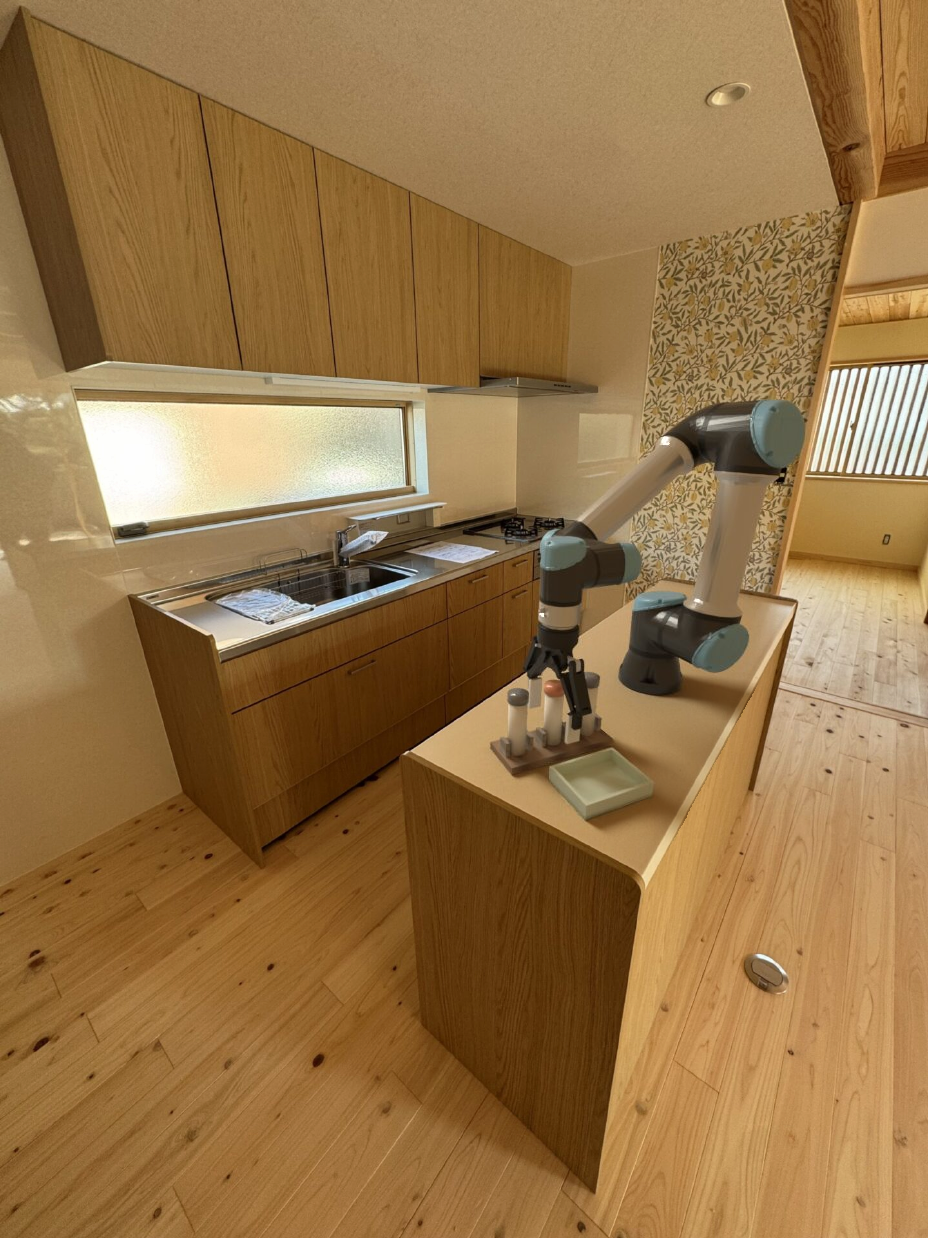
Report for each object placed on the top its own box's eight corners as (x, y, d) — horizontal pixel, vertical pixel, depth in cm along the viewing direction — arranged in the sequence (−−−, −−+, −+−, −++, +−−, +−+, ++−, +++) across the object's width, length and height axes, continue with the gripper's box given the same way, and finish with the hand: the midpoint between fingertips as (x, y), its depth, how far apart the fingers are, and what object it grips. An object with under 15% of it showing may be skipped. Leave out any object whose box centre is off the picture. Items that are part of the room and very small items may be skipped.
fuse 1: (520, 742, 99) (522, 686, 95) (530, 753, 96) (533, 695, 91) (502, 747, 98) (503, 690, 93) (512, 758, 94) (513, 700, 90)
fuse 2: (587, 723, 105) (591, 670, 100) (598, 733, 102) (604, 678, 97) (571, 728, 104) (575, 674, 99) (582, 738, 100) (587, 682, 96)
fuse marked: (554, 732, 102) (558, 678, 98) (565, 743, 99) (569, 687, 94) (537, 737, 101) (540, 682, 96) (548, 748, 97) (551, 691, 93)
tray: (610, 760, 96) (612, 747, 95) (652, 796, 86) (654, 782, 85) (548, 780, 91) (549, 766, 90) (585, 820, 81) (586, 805, 80)
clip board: (585, 722, 108) (586, 704, 107) (612, 744, 100) (614, 725, 99) (490, 748, 100) (490, 729, 98) (511, 775, 92) (512, 754, 90)
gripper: (508, 605, 100) (505, 697, 107) (582, 652, 78) (572, 764, 86) (540, 600, 103) (535, 691, 110) (620, 644, 81) (608, 753, 89)
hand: (551, 723), depth 98 cm, fingers open, 13 cm apart
